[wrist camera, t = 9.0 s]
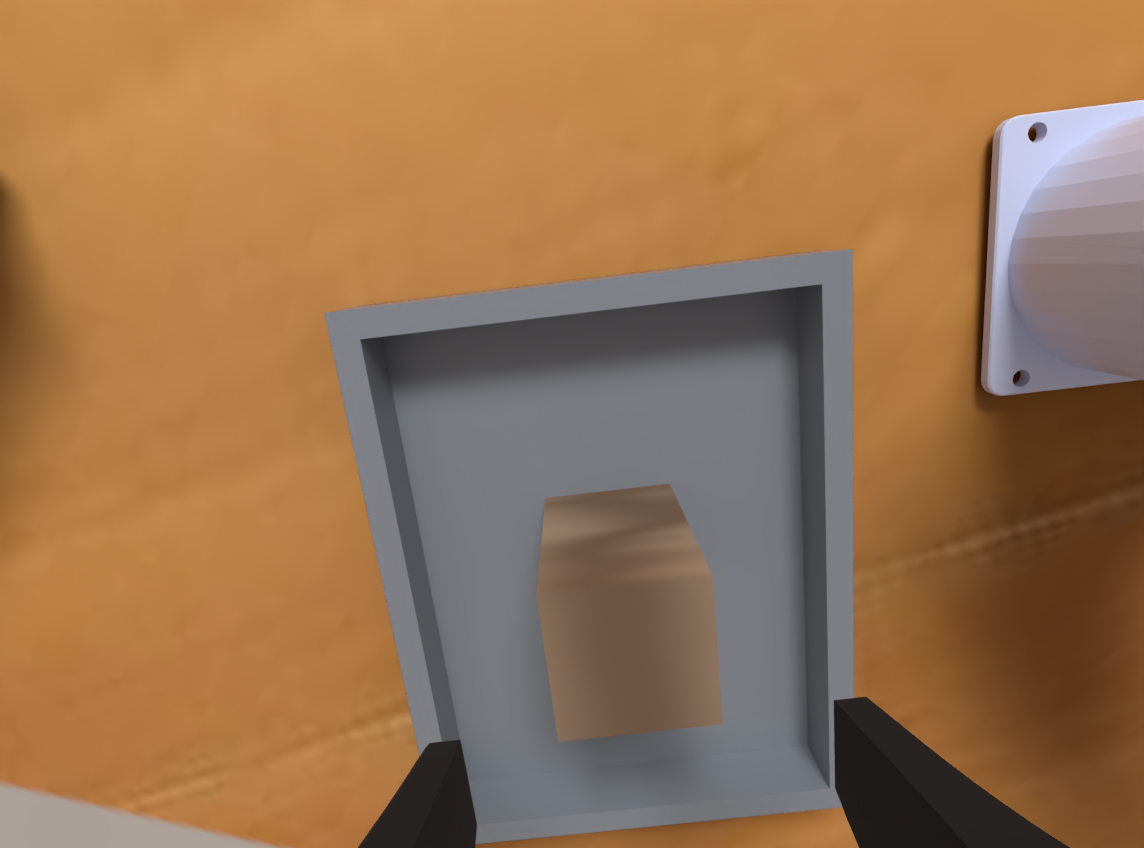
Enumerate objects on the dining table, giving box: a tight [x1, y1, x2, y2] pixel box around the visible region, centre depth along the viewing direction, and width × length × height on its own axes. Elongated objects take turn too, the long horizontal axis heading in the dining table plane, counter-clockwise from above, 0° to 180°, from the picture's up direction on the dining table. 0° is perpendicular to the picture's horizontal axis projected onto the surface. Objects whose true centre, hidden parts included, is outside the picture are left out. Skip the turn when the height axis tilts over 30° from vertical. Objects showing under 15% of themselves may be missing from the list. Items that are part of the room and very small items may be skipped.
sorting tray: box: [324, 249, 854, 844], centre depth 20 cm, size 14×18×2 cm
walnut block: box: [536, 484, 723, 742], centre depth 17 cm, size 4×4×6 cm
